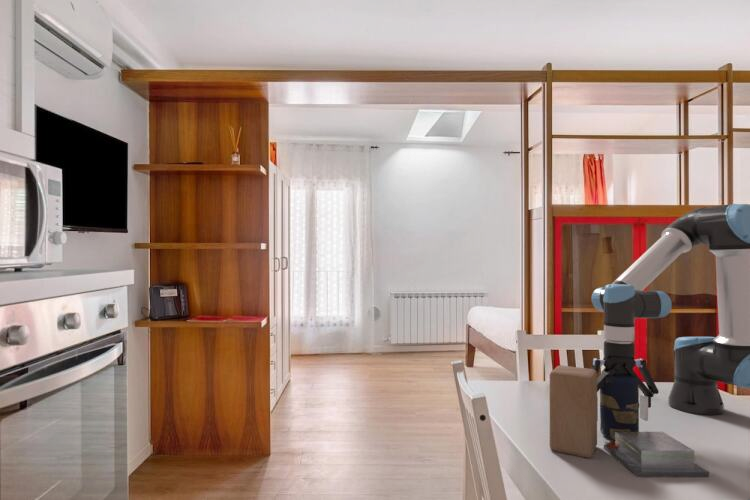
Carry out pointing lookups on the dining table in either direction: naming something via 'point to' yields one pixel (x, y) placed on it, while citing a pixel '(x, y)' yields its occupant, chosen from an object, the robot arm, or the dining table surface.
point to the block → (573, 410)
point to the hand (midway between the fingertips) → (619, 419)
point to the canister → (619, 405)
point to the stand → (654, 455)
